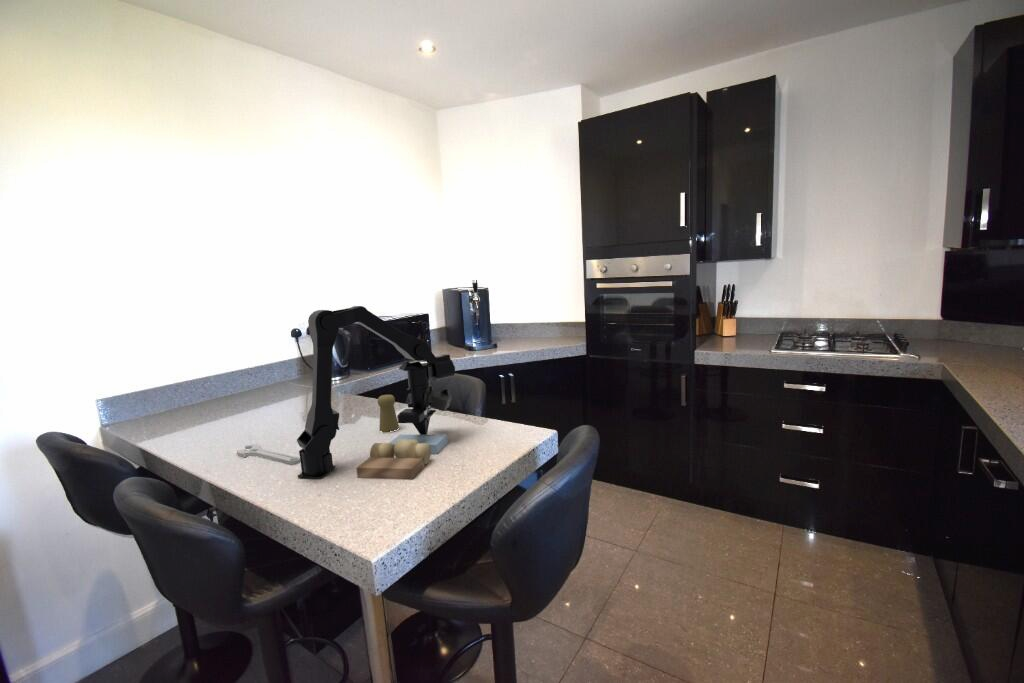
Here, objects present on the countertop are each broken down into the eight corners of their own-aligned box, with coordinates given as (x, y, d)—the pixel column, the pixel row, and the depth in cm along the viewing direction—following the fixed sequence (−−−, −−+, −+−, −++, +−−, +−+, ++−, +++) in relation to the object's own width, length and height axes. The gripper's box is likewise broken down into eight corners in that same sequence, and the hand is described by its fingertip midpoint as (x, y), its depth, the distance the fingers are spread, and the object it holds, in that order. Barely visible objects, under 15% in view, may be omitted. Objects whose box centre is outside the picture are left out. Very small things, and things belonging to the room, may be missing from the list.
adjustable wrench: (303, 463, 120) (302, 457, 120) (279, 473, 115) (278, 466, 115) (255, 448, 134) (254, 442, 134) (232, 456, 129) (231, 450, 129)
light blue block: (378, 461, 117) (376, 443, 116) (400, 442, 130) (399, 426, 129) (429, 461, 114) (428, 443, 113) (447, 443, 127) (446, 426, 126)
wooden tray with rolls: (357, 477, 107) (355, 457, 107) (380, 458, 118) (378, 440, 118) (412, 479, 104) (410, 458, 104) (431, 459, 115) (429, 440, 115)
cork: (384, 434, 138) (380, 399, 136) (376, 430, 143) (372, 396, 141) (402, 429, 142) (399, 394, 140) (394, 425, 146) (390, 391, 145)
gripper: (434, 391, 116) (439, 450, 118) (457, 375, 134) (461, 426, 136) (393, 392, 118) (399, 450, 121) (421, 376, 136) (426, 426, 139)
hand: (424, 437), depth 129 cm, fingers closed
